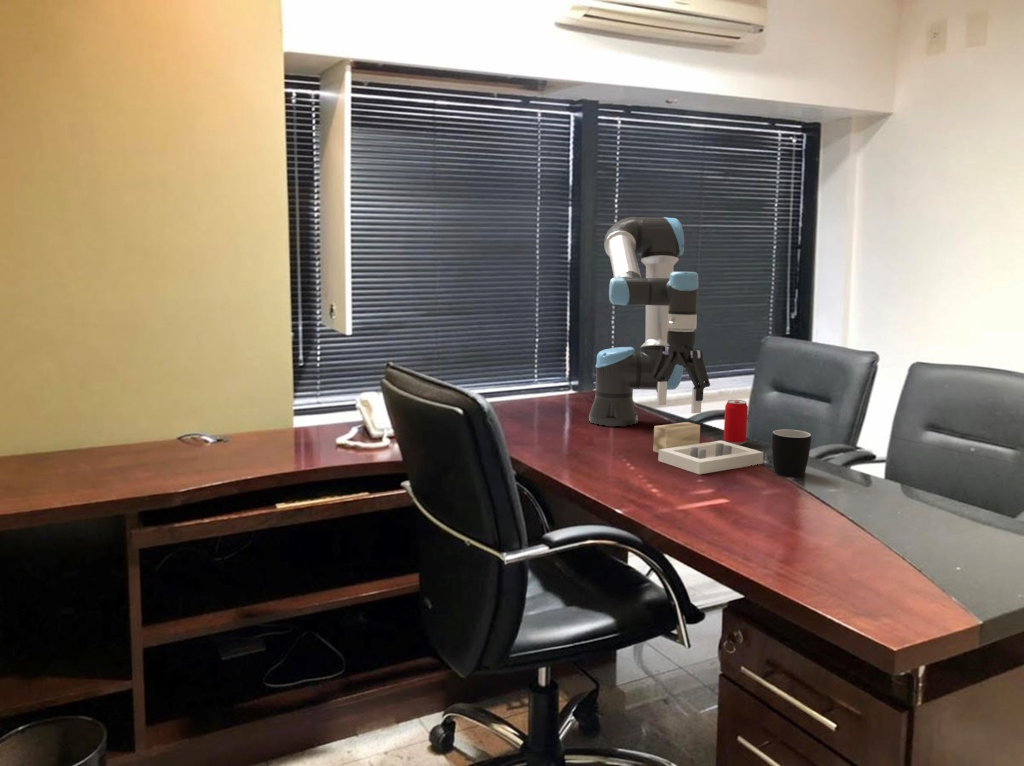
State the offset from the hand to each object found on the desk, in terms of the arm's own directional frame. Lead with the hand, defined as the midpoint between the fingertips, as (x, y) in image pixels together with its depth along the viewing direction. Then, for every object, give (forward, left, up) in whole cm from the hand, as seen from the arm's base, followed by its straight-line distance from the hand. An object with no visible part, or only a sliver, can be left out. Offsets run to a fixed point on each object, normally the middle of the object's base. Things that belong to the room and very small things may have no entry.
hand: (678, 409), depth 229 cm
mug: (+30, +9, -12) cm, 33 cm away
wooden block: (0, 0, -12) cm, 12 cm away
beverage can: (+1, +21, -12) cm, 24 cm away
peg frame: (+14, -1, -12) cm, 18 cm away
